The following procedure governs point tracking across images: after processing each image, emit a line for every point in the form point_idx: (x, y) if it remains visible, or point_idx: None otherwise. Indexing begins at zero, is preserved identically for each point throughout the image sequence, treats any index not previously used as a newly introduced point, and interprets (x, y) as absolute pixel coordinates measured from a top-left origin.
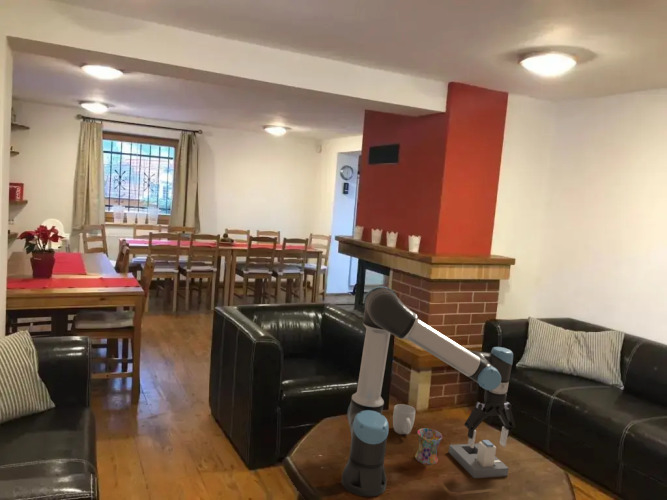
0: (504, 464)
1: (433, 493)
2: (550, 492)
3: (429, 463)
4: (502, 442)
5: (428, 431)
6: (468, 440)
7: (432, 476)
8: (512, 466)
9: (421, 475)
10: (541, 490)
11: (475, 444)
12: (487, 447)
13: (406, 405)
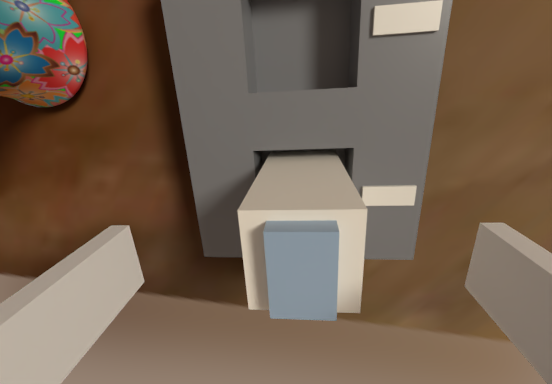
0: (416, 226)
1: None
2: None
3: (31, 105)
4: (491, 283)
5: None
6: (81, 248)
7: (53, 182)
8: (525, 133)
9: (8, 171)
10: (482, 316)
11: None
12: (266, 306)
13: None
